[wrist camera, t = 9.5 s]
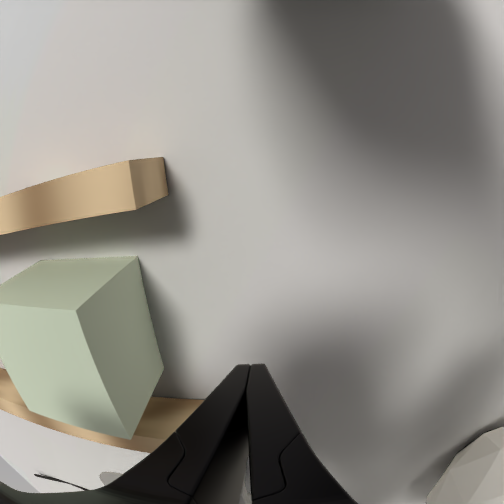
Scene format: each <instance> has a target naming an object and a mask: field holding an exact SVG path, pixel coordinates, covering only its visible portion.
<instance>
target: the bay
mask: <svg viewBox="0 0 504 504" xmlns="http://www.w3.org/2000/svg"><path fill="white" fill-rule="evenodd" d="M167 195H168V189H167V182H166V175H165V167H164V160H163V157H158V158H147V159H137V160H128V161H124V162H119V163H115V164H111V165H106V166H102V167H98V168H94V169H90V170H86V171H83V172H79V173H75V174H72V175H68V176H64V177H61V178H57V179H54V180H51V181H47V182H44V183H41V184H38V185H35V186H32V187H28V188H25V189H22V190H19V191H17V192H14V193H11V194H8V195H5V196H2V197H0V235H2V234H7V233H11V232H16V231H21V230H25V229H30V228H35V227H40V226H45V225H50V224H55V223H60V222H66V221H71V220H77V219H82V218H88V217H94V216H100V215H106V214H112V213H118V212H124V211H131V210H137V209H139V208H141V207H143V206H145V205H147V204H150V203H152V202H154V201H156V200H158V199H161V198H163V197H165V196H167ZM203 401H204V400H197V399H177V398H162V397H150V399H149V402H148V404H147V406H146V408H145V410H144V412H143V415H142V417H141V419H140V421H139V423H138V425H137V428H136V430H135V432H134V434H133V436H132V439H131V440H129V439H124V438H119V437H115V436H110V435H106V434H102V433H98V432H94V431H91V430H87V429H83V428H80V427H76V426H73V425H70V424H66V423H63V422H60V421H57V420H54V419H51V418H48V417H45V416H42V415H40V414H37V413H34V412H32V411H29V409H28V407H27V406H26V404H25V402H24V401H23V399H22V397H21V396H20V394H19V392H18V391H17V389H16V387H15V385H14V383H13V382H12V380H11V378H10V376H9V374H8V372H7V370H5V369H2V368H0V409H1V410H4V411H6V412H8V413H11V414H13V415H15V416H18V417H20V418H23V419H25V420H28V421H31V422H33V423H36V424H39V425H41V426H44V427H47V428H50V429H53V430H56V431H59V432H62V433H66V434H69V435H72V436H76V437H79V438H83V439H87V440H90V441H94V442H98V443H102V444H107V445H111V446H116V447H120V448H125V449H130V450H136V451H141V452H147V453H152V452H153V451H154V450H155V449H156V448H158V447H159V446H160V445H161V444H162V443H163V442H164V441H165V440H166V439H167V438H168V437H169V436H170V435H171V434H172V433H173V432H176V429H177V428H178V427H179V426H180V425H181V424H182V423H183V422H184V421H185V420H186V419H187V418H188V417H189V416H190V415H191V414H192V413H193V412H194V411H195V410H196V409H197V408H198V407H199V405H200V404H201V403H202V402H203Z"/></svg>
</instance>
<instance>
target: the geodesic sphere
mask: <svg viewBox="0 0 504 504" xmlns="http://www.w3.org/2000/svg"><path fill="white" fill-rule="evenodd" d="M426 504H504V426H503V427H500V428H497V429H494V430H492V431H489V432H487V433H484V434H482V435H481V436H480V437H479V438H477V439H476V440H475V441H474V442H472V443H471V444H470V445H468V446H467V447H466V448H464V449H463V450H461V451H460V452H459V453H457V454H456V456H455V457H454V459H453V460H452V462H451V463H450V465H449V466H448V468H447V469H446V471H445V472H444V474H443V475H442V477H441V478H440V479H439V481H438V482H437V484H436V485H435V486H434V488H433V489H432V490H431V492H430V493H429V494H428V496H427V500H426Z"/></svg>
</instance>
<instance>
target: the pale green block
mask: <svg viewBox="0 0 504 504" xmlns="http://www.w3.org/2000/svg"><path fill="white" fill-rule="evenodd" d="M0 358H1V360H2V362H3V364H4V366H5V368H6V370H7V372H8V374H9V376H10V378H11V380H12V382H13V383H14V385H15V387H16V389H17V391H18V392H19V394H20V396H21V397H22V399H23V401H24V402H25V404H26V406H27V407H28V409H29V411H32V412H34V413H37V414H40V415H42V416H45V417H48V418H51V419H54V420H57V421H60V422H63V423H66V424H70V425H73V426H76V427H80V428H83V429H87V430H91V431H94V432H98V433H102V434H106V435H110V436H115V437H119V438H124V439H129V440H131V439H132V436H133V434H134V432H135V430H136V428H137V425H138V423H139V421H140V419H141V417H142V415H143V412H144V410H145V408H146V406H147V404H148V402H149V399H150V397H151V395H152V393H153V391H154V389H155V387H156V385H157V382H158V380H159V378H160V376H161V374H162V372H163V370H164V366H163V363H162V359H161V355H160V352H159V348H158V344H157V341H156V337H155V333H154V329H153V325H152V321H151V317H150V312H149V308H148V304H147V299H146V295H145V290H144V285H143V281H142V276H141V271H140V266H139V260H138V256H128V257H105V258H83V259H61V260H41V261H39V262H37V263H36V264H34V265H32V266H31V267H29V268H27V269H26V270H24V271H22V272H21V273H19V274H17V275H16V276H14V277H12V278H11V279H9V280H8V281H6V282H4V283H3V284H1V285H0Z"/></svg>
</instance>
